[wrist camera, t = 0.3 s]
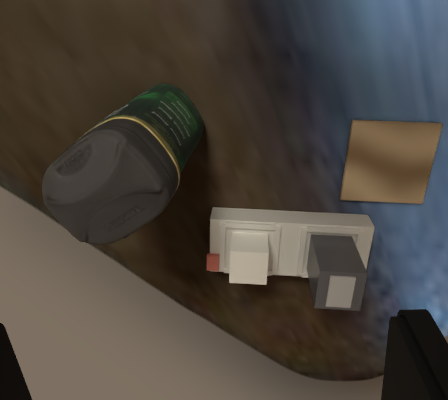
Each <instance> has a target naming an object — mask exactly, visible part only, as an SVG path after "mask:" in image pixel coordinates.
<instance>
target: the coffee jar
mask: <svg viewBox="0 0 448 400" xmlns="http://www.w3.org/2000/svg"><path fill="white" fill-rule="evenodd" d="M203 129H204V128H203V121H202V118H201V116H200V114H199V112H198V110H197V109H196V108H195V106H194V104H193V103H192V102H191V100H190V99H189V98H188V97H187V96H186V95H185V93H184V92H182V91H181V90H180V89H179V88H177V87H176V86H174V85H171V84H158V85H155V86H153V87H151V88H149V89H148V90H146V91H144V92H143V93H141V94H140V95H138V96H137V97H135V98H133V99H132V100H131V101H129V102H128V103H127V104H125V105H124V106H122V107H121V108H119V109H117V110H116V111H115V112H113V113H112V114H110V115H109V116H107V117H106V118H105V119H103V120H102V121H100V122H99V123H98V124H97V125H95V126H94V127H93V128H91V129H90V130H89V131H88V132H87V133H85V134H84V135H83V136H82V137H80V138H79V139H78V140H77V141H76V142H75V143H73V144H72V145H71V146H70V147H69V148H67V149H66V151H65V152H64V153H62V154H61V155H60V156H59V157H58V158H57V159H56V160H55V161H54V162H53V163H52V164H51V165H50V166H49V167H48V169H47V170H46V172H45V175H44V178H43V183H42V193H43V198H44V204H45V205H46V207H47V208H48V209H49V211H50V212H51V213H52V214H53V215H54V217H55V218H56V219H57V220H58V221H59V222H60V223H61V224H62V225H63V226H64V227H65V228H66V229H67V230H68V231H69V232H70V233H71V234H72V235H73V236H74V237H75V238H76V239H78V240H79V241H81V242H86V243H90V244H97V245H102V244H110V243H113V242H116V241H118V240H120V239H122V238H126V237H128V236H129V235H131V234H132V233H134V232H135V231H137V230H138V229H140V228H141V227H143V226H144V225H146V224H148V223H149V222H151V221H152V220H154V219H156V218H157V217H159V216H160V214H161V212H163V211H164V209H165V208H166V207H167V206H168V204H169V202H170V201H171V199H172V198H173V196H174V195H175V193H176V191H177V189H178V186H179V182H180V174H181V172H182V170H183V168H184V166H185V165H186V163H187V161H188V159H189V157H190V156H191V154H192V153H193V151H194V149H195V148H196V146H197V144H198V143H199V141H200V139H201V137H202V134H203Z"/></svg>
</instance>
